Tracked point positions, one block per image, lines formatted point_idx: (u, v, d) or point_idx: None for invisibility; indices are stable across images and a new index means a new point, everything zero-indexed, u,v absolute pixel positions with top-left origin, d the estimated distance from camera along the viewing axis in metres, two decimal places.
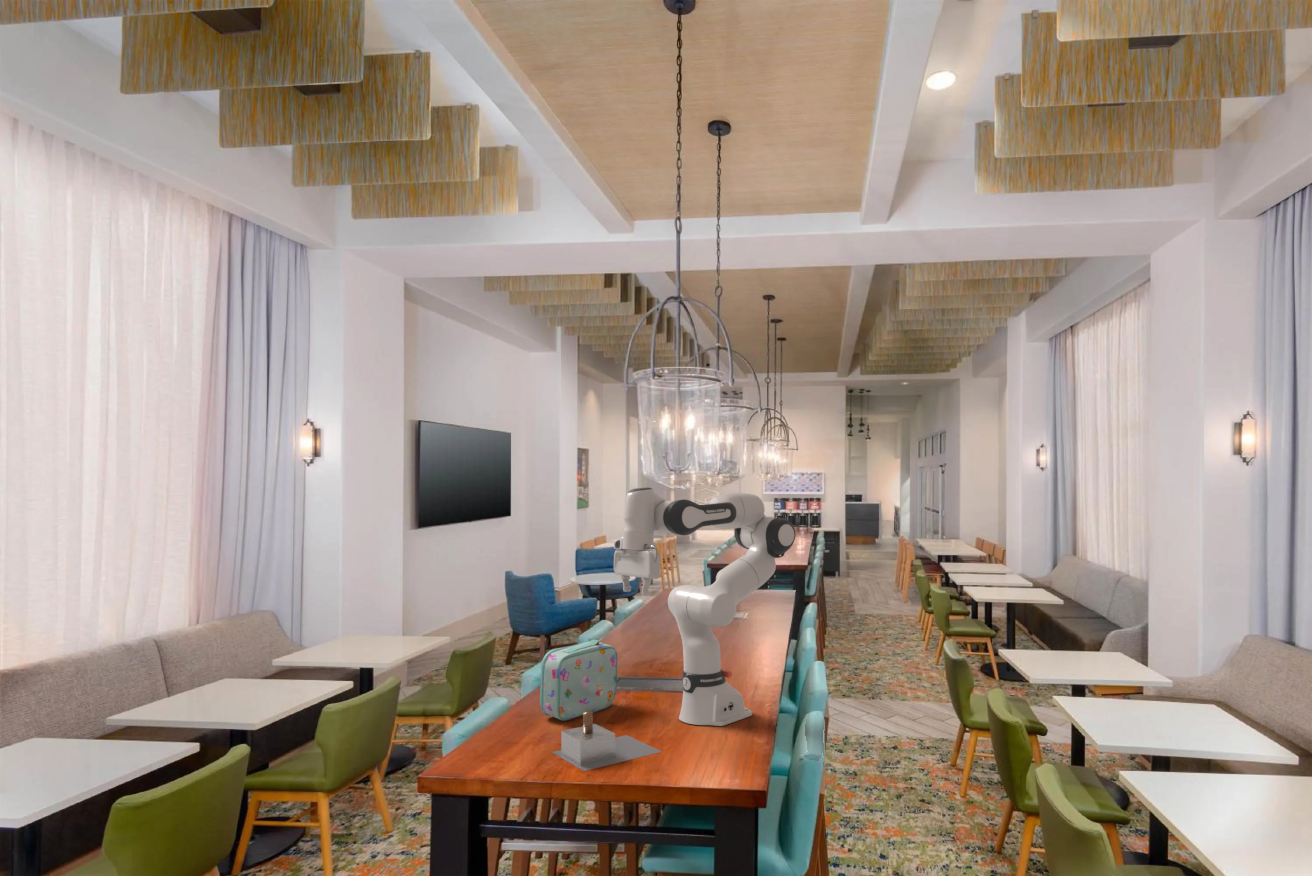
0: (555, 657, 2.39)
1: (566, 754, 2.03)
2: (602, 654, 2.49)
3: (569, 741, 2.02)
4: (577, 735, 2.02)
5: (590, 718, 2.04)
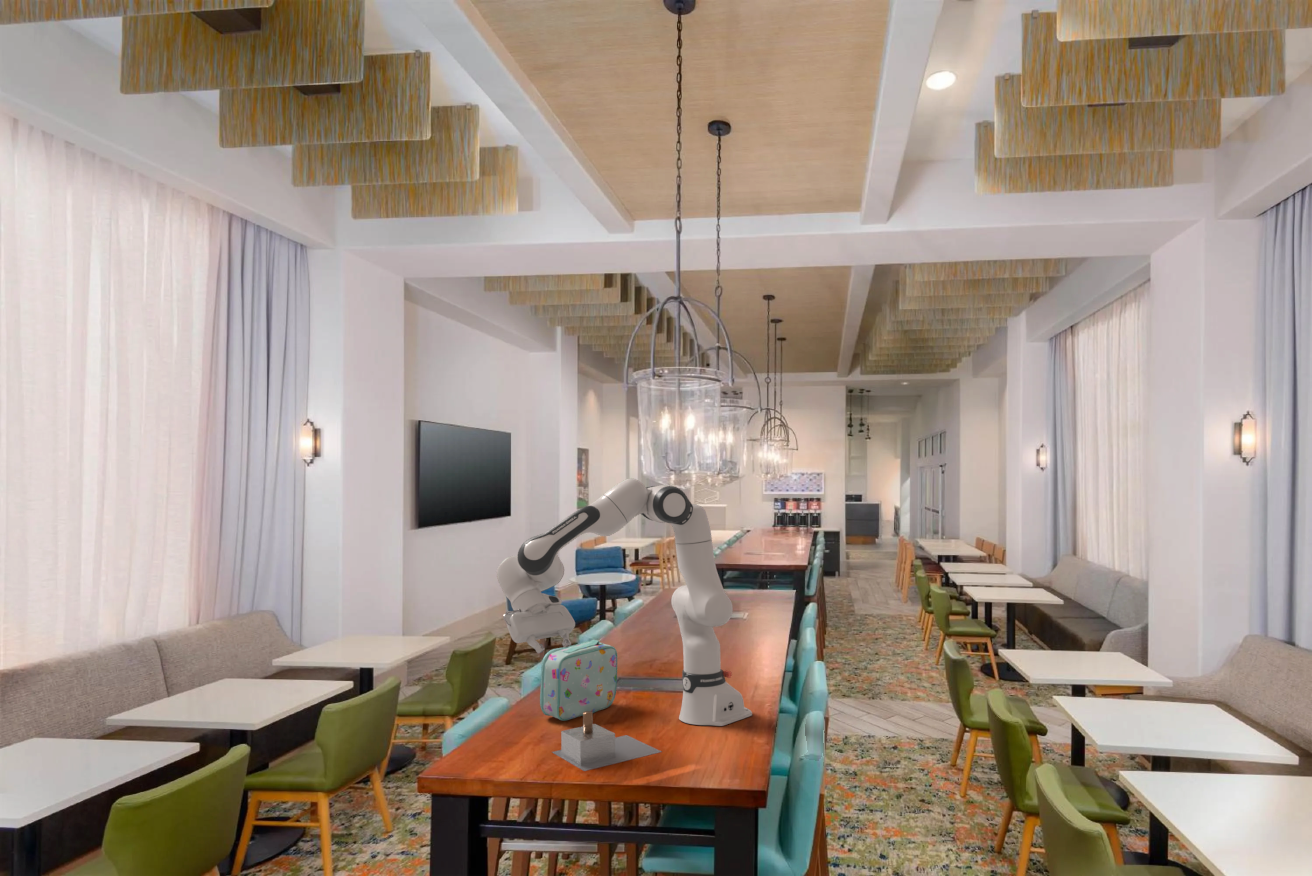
0: (555, 657, 2.39)
1: (566, 754, 2.03)
2: (602, 654, 2.49)
3: (569, 741, 2.02)
4: (577, 735, 2.02)
5: (590, 718, 2.04)
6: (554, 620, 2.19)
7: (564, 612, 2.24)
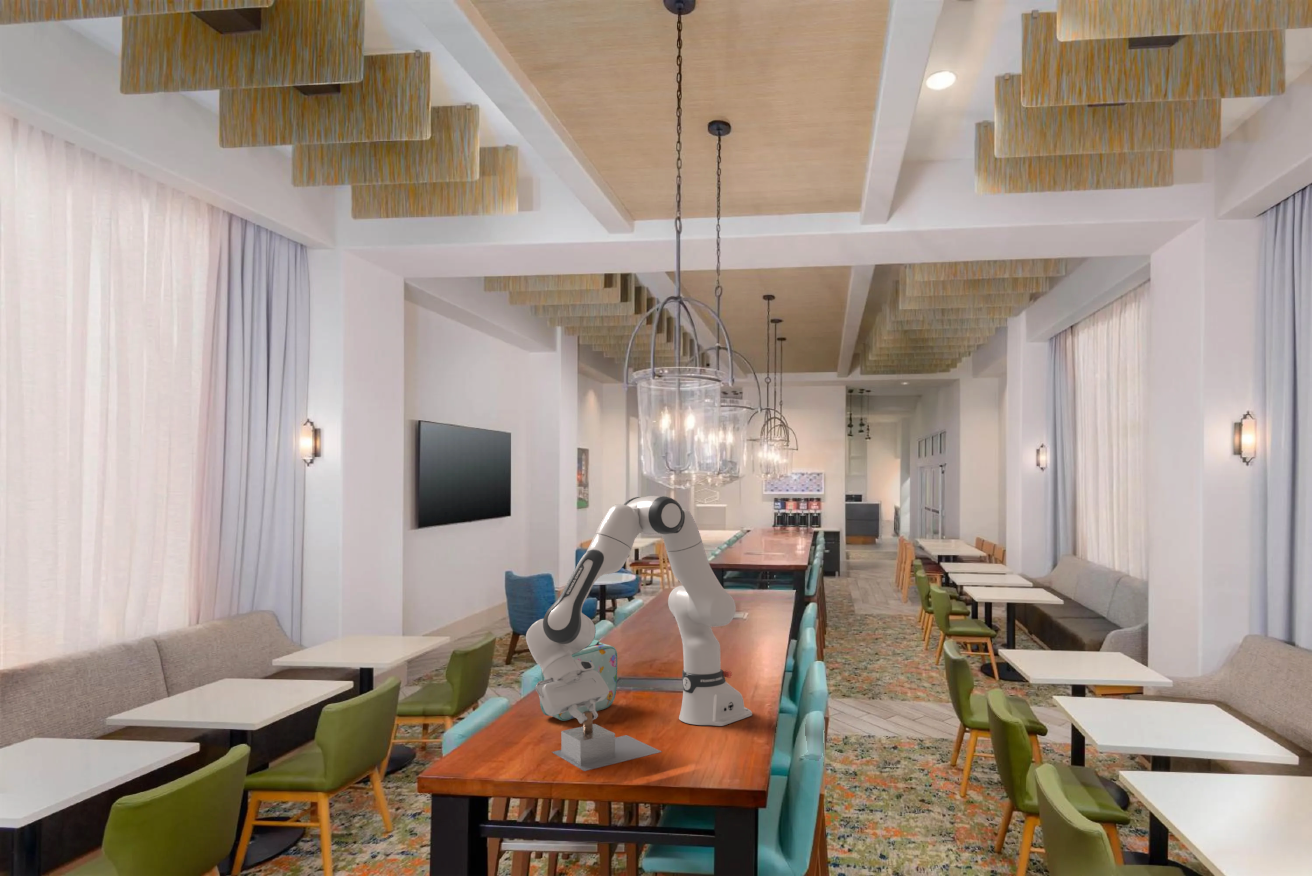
0: None
1: (566, 754, 2.03)
2: (602, 654, 2.49)
3: (569, 741, 2.02)
4: (577, 735, 2.02)
5: (590, 718, 2.04)
6: (588, 687, 2.10)
7: (597, 678, 2.14)
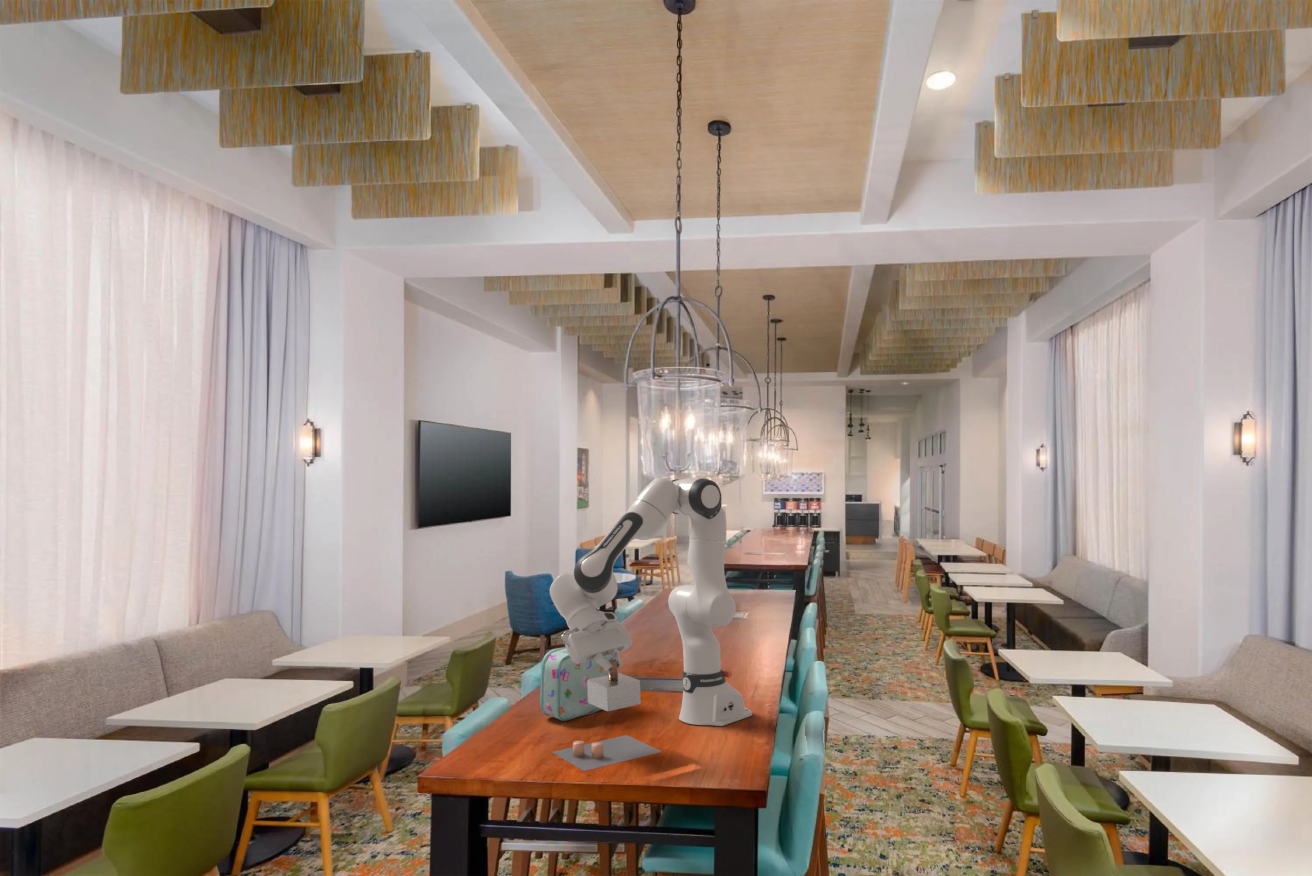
0: (555, 657, 2.39)
1: (593, 701, 2.08)
2: None
3: (595, 689, 2.07)
4: (603, 682, 2.07)
5: (615, 666, 2.09)
6: (612, 637, 2.15)
7: (620, 629, 2.19)
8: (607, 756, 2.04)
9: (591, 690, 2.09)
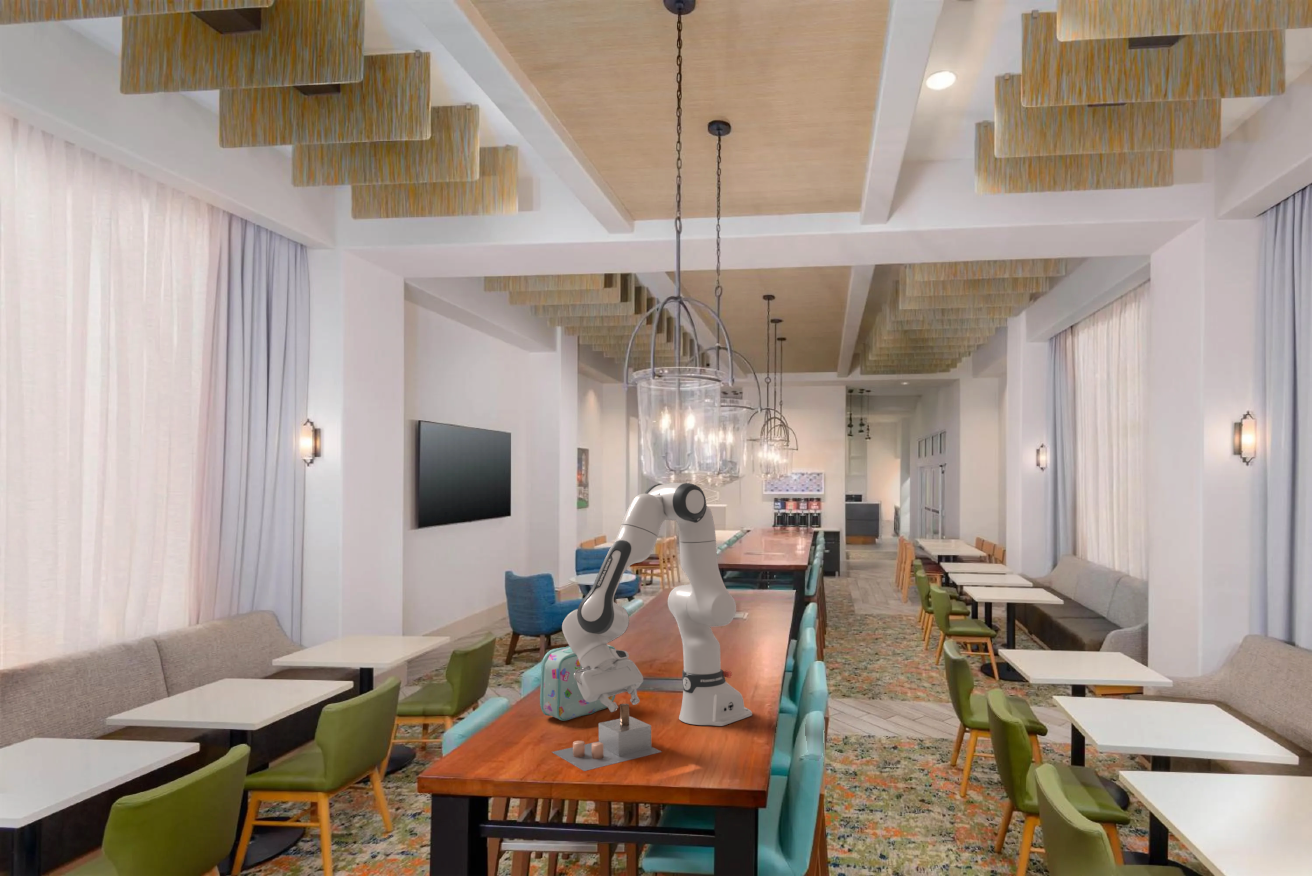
0: (555, 657, 2.39)
1: (604, 745, 2.10)
2: None
3: (606, 733, 2.09)
4: (614, 727, 2.08)
5: (627, 710, 2.10)
6: (623, 675, 2.16)
7: (632, 667, 2.20)
8: (607, 756, 2.04)
9: (602, 734, 2.10)
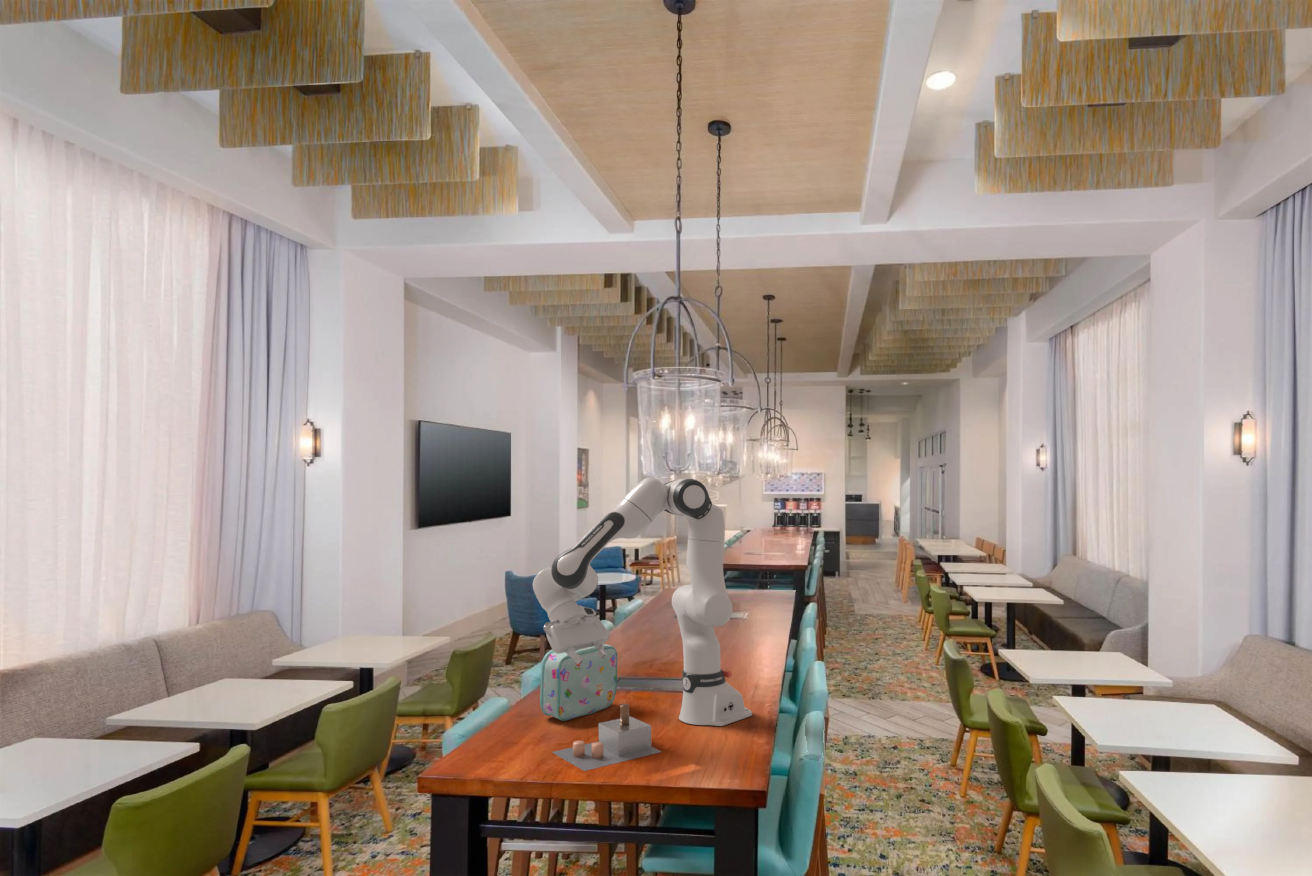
0: (555, 657, 2.39)
1: (604, 745, 2.10)
2: None
3: (606, 733, 2.09)
4: (614, 727, 2.08)
5: (627, 710, 2.10)
6: (590, 631, 2.26)
7: (598, 624, 2.30)
8: (607, 756, 2.04)
9: (602, 734, 2.10)
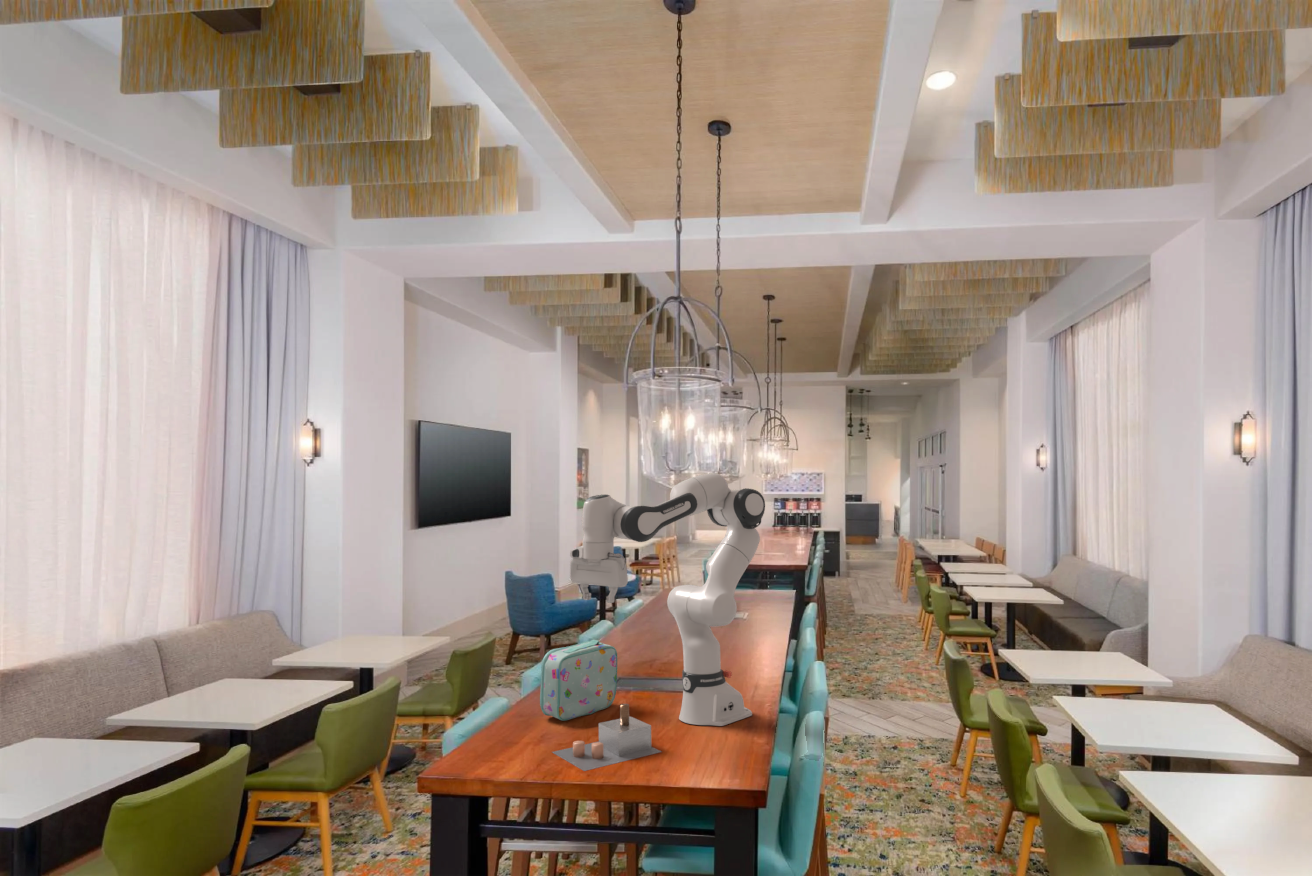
0: (555, 657, 2.39)
1: (604, 745, 2.10)
2: (602, 654, 2.49)
3: (606, 733, 2.09)
4: (614, 727, 2.08)
5: (627, 710, 2.10)
6: None
7: None
8: (607, 756, 2.04)
9: (602, 734, 2.10)
